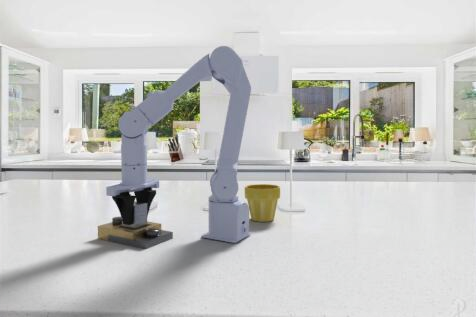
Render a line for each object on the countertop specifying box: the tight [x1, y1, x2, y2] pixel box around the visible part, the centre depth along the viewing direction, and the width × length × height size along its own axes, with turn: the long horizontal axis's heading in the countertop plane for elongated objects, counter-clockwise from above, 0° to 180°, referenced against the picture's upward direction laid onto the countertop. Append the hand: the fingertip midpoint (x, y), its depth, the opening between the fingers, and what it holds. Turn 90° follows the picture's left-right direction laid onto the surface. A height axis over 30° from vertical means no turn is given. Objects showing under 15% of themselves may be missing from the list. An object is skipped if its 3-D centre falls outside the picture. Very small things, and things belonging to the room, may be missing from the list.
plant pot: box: [244, 183, 281, 223], centre depth 99 cm, size 10×10×10 cm
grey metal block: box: [122, 200, 148, 230], centre depth 80 cm, size 4×4×8 cm
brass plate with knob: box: [97, 216, 174, 250], centre depth 80 cm, size 15×9×4 cm, turn 61°
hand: (135, 222), depth 80 cm, fingers open, 4 cm apart
